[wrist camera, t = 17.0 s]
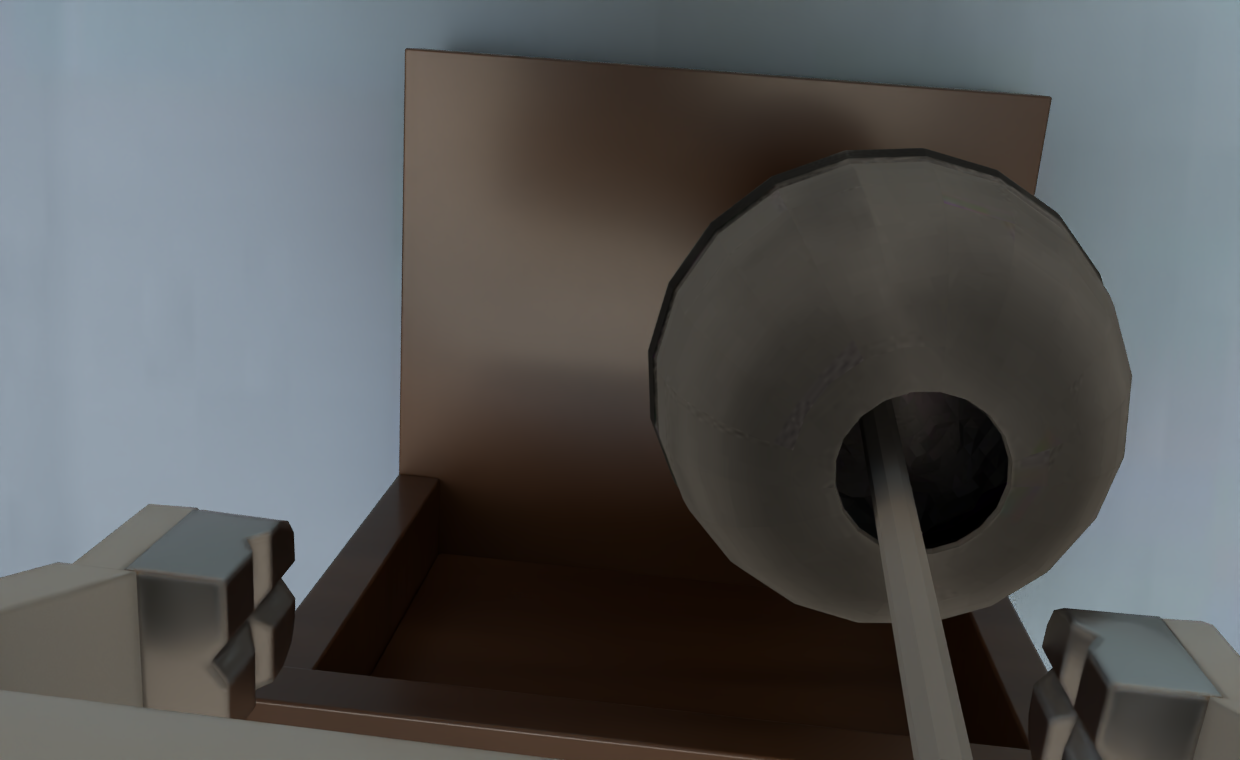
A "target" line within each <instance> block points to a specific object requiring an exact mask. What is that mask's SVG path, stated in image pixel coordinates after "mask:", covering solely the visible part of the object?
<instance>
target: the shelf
mask: <svg viewBox="0 0 1240 760" xmlns="http://www.w3.org/2000/svg"><path fill="white" fill-rule="evenodd" d="M1051 100H1052V98H1051V97H1050V96H1042V95H1034V94H1021V93H1008V92H995V91H981V90H968V89H955V88H941V87H928V86H915V85H901V84H888V83H875V82H861V81H848V80H835V79H821V78H808V77H795V76H781V75H768V74H755V73H742V72H728V71H715V70H702V69H688V68H675V67H662V66H648V65H635V64H622V63H608V62H595V61H582V60H568V59H555V58H542V57H528V56H515V55H502V54H488V53H475V52H462V51H448V50H435V49H422V48H406V49H405V91H404V164H403V236H402V309H401V382H400V455H399V476H398V477H397V478H396V479H395V481H394V482H393V483H392V485H391V486H390V487H389V489H388V490H387V491H386V493H385V494H384V495H383V497H382V498H381V499H380V500H379V502H378V503H377V504H376V506H375V507H374V508H373V510H372V511H371V512H370V514H369V515H368V516H367V518H366V519H365V520H364V521H363V523H362V524H361V525H360V527H359V528H358V529H357V531H356V532H355V533H354V535H353V536H352V537H351V538H350V540H349V541H348V542H347V544H346V545H345V546H344V548H343V549H342V550H341V552H340V553H339V554H338V556H337V557H336V558H335V559H334V561H333V562H332V563H331V565H330V566H329V567H328V569H327V570H326V571H325V573H324V574H323V575H322V577H321V578H320V579H319V580H318V582H317V583H316V584H315V586H314V587H313V588H312V590H311V591H310V592H309V594H308V595H307V596H306V598H305V599H304V600H303V601H302V603H301V604H300V605H299V607H298V608H297V609H296V611H295V623H294V630H293V637H292V643H291V646H290V649H289V652H288V654H287V657H286V660H285V663H284V666H283V668H282V669H281V671H280V672H279V674H278V675H277V677H276V678H275V680H274V681H273V682H272V683H270V684H267V685H265V686H263V687H261V688H258V689H256V690H255V692H256V707H255V708H254V709H253V711H252V712H251V714H250V715H249V716H248V718H247V719H246V720H248V721H256V722H264V723H272V724H280V725H288V726H296V727H304V728H312V729H320V730H328V731H336V732H344V733H352V734H360V735H368V736H376V737H384V738H392V739H400V740H408V741H416V742H424V743H432V744H440V745H448V746H456V747H464V748H472V749H480V750H488V751H496V752H504V753H512V754H520V755H528V756H536V757H544V758H552V759H560V760H914V758H913V751H912V745H911V739H910V733H909V727H908V721H907V714H906V708H905V702H904V696H903V690H902V683H901V677H900V671H899V665H898V659H897V652H896V646H895V640H894V634H893V628H892V623H858V622H854V621H851V620H847V619H844V618H841V617H837V616H834V615H831V614H827V613H824V612H820V611H817V610H814V609H810V608H807V607H804V606H800V605H797V604H794V603H793V602H791V601H790V600H788V599H787V598H785V597H784V596H782V595H781V594H779V593H777V592H776V591H774V590H773V589H771V588H770V587H768V586H767V585H765V584H764V583H762V582H761V581H759V580H758V579H756V578H755V577H753V576H752V575H750V574H749V573H747V572H746V571H744V570H743V569H741V568H740V567H738V566H737V565H735V564H734V563H732V562H731V561H730V560H729V559H728V557H727V556H726V555H725V554H724V553H723V551H722V550H721V549H720V548H719V546H718V545H717V544H716V543H715V541H714V540H713V539H712V538H711V536H710V535H709V534H708V533H707V532H706V530H705V529H704V528H703V527H702V525H701V524H700V523H699V522H698V520H697V519H696V518H695V517H694V515H693V514H692V513H691V512H690V510H689V509H688V507H687V505H686V504H685V502H684V500H683V498H682V495H681V493H680V490H679V488H678V487H677V485H676V484H675V482H674V481H673V478H672V475H671V473H670V470H669V467H668V465H667V462H666V459H665V457H664V454H663V451H662V449H661V446H660V443H659V441H658V438H657V435H656V433H655V430H654V427H653V425H652V422H651V419H650V397H649V366H648V349H649V345H650V342H651V339H652V335H653V332H654V329H655V326H656V322H657V319H658V316H659V312H660V309H661V306H662V302H663V299H664V296H665V292H666V289H667V286H668V283H669V281H670V280H671V278H672V277H673V276H674V274H675V273H676V271H677V270H678V268H679V267H680V266H681V264H682V263H683V261H684V260H685V258H686V257H687V256H688V254H689V253H690V251H691V250H692V248H693V247H694V246H695V244H696V243H697V241H698V240H699V238H700V237H701V236H702V234H703V233H704V231H705V230H706V228H707V227H708V226H709V224H710V223H711V222H712V221H713V220H715V219H716V218H717V217H719V216H720V215H721V214H723V213H724V212H725V211H727V210H728V209H729V208H731V207H732V206H733V205H734V204H736V203H737V202H738V201H740V200H741V199H742V198H744V197H745V196H746V195H748V194H749V193H750V192H752V191H753V190H754V189H756V188H757V187H758V186H760V185H761V184H762V183H764V182H765V181H766V180H767V179H769V178H770V177H771V176H774V175H777V174H780V173H783V172H785V171H788V170H791V169H794V168H797V167H800V166H802V165H805V164H808V163H811V162H814V161H816V160H819V159H822V158H825V157H828V156H831V155H833V154H836V153H839V152H842V151H845V150H872V149H904V148H925V149H929V150H932V151H936V152H939V153H942V154H946V155H949V156H952V157H956V158H959V159H963V160H966V161H969V162H973V163H976V164H979V165H983V166H986V167H989V168H993V169H996V170H998V171H1000V172H1001V173H1002V174H1004V175H1005V176H1007V177H1008V178H1009V179H1011V180H1012V181H1014V182H1015V183H1016V184H1018V185H1019V186H1021V187H1022V188H1023V189H1025V190H1026V191H1028V192H1029V193H1030V194H1032V195H1033V196H1034V195H1035V189H1036V184H1037V178H1038V172H1039V167H1040V161H1041V156H1042V150H1043V145H1044V139H1045V133H1046V128H1047V122H1048V117H1049V111H1050V105H1051ZM942 625H943V629H944V634H945V638H946V642H947V647H948V651H949V656H950V660H951V665H952V669H953V673H954V678H955V682H956V687H957V691H958V695H959V700H960V704H961V709H962V713H963V718H964V722H965V726H966V731H967V735H968V740H969V744H970V748H971V753H972V757H973V760H1032V756H1031V751H1030V746H1029V741H1028V713H1029V708H1030V702H1031V697H1032V691H1033V686H1034V684H1035V683H1036V682H1037V681H1039V680H1040V679H1041V678H1042V677H1043V676H1044V675H1045V674H1046V673H1048V671H1047V669H1046V667H1045V665H1044V664H1043V662H1042V660H1041V658H1040V656H1039V654H1038V652H1037V650H1036V648H1035V647H1034V645H1033V643H1032V641H1031V639H1030V637H1029V635H1028V633H1027V631H1026V630H1025V628H1024V626H1023V624H1022V622H1021V620H1020V618H1019V616H1018V614H1017V613H1016V611H1015V609H1014V607H1013V605H1012V603H1011V601H1010V599H1009V597H1008V596H1007V597H1005V598H1004V599H1002V600H1000V601H999V602H997V603H995V604H994V605H992V606H990V607H986V608H982V609H979V610H975V611H971V612H968V613H964V614H960V615H957V616H953V617H949V618H946V619H942Z"/></svg>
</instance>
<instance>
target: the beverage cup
mask: <svg viewBox="0 0 1240 760" xmlns="http://www.w3.org/2000/svg"><path fill="white" fill-rule="evenodd" d="M648 366H649V397H650V419H651V422H652V425H653V427H654V430H655V433H656V435H657V438H658V441H659V443H660V446H661V449H662V451H663V454H664V457H665V459H666V462H667V465H668V467H669V470H670V473H671V475H672V478H673V481H674V482H675V484H676V485H677V487H678V488H679V490H680V493H681V495H682V498H683V500H684V502H685V504H686V505H687V507H688V509H689V510H690V512H691V513H692V514H693V515H694V517H695V518H696V519H697V520H698V522H699V523H700V524H701V525H702V527H703V528H704V529H705V530H706V532H707V533H708V534H709V535H710V536H711V538H712V539H713V540H714V541H715V543H716V544H717V545H718V546H719V548H720V549H721V550H722V551H723V553H724V554H725V555H726V556H727V557H728V559H729V560H730V561H731V562H732V563H734V564H735V565H737V566H738V567H740V568H741V569H743V570H744V571H746V572H747V573H749V574H750V575H752V576H753V577H755V578H756V579H758V580H759V581H761V582H762V583H764V584H765V585H767V586H768V587H770V588H771V589H773V590H774V591H776V592H777V593H779V594H781V595H782V596H784V597H785V598H787V599H788V600H790V601H791V602H793V603H794V604H797V605H800V606H804V607H807V608H810V609H814V610H817V611H820V612H824V613H827V614H831V615H834V616H837V617H841V618H844V619H847V620H851V621H854V622H858V623H892V628H893V634H894V640H895V646H896V652H897V659H898V665H899V671H900V677H901V683H902V690H903V696H904V702H905V708H906V714H907V721H908V727H909V733H910V739H911V745H912V751H913V758H914V760H973V757H972V753H971V748H970V744H969V740H968V735H967V731H966V726H965V722H964V718H963V713H962V709H961V704H960V700H959V695H958V691H957V687H956V682H955V678H954V673H953V669H952V665H951V660H950V656H949V651H948V647H947V642H946V638H945V634H944V629H943V625H942V619H946V618H949V617H953V616H957V615H960V614H964V613H968V612H971V611H975V610H979V609H982V608H986V607H990V606H992V605H994V604H995V603H997V602H999V601H1000V600H1002V599H1004V598H1005V597H1007V596H1009V595H1010V594H1012V593H1014V592H1015V591H1017V590H1019V589H1020V588H1022V587H1023V586H1025V585H1027V584H1028V583H1030V582H1032V581H1033V580H1035V579H1037V578H1038V577H1040V576H1042V575H1043V574H1045V573H1047V572H1048V571H1049V570H1050V569H1051V568H1052V567H1053V565H1054V564H1055V563H1056V562H1057V561H1058V560H1059V559H1060V558H1061V557H1062V555H1063V554H1064V553H1065V552H1066V551H1067V550H1068V549H1069V548H1070V547H1071V546H1072V544H1073V543H1074V542H1075V541H1076V540H1077V539H1078V538H1079V537H1080V536H1081V534H1082V533H1083V532H1084V531H1085V530H1086V529H1087V528H1088V527H1089V526H1090V525H1091V523H1092V522H1093V521H1094V520H1095V519H1096V517H1097V515H1098V513H1099V511H1100V508H1101V506H1102V504H1103V502H1104V500H1105V497H1106V495H1107V493H1108V491H1109V489H1110V486H1111V484H1112V482H1113V480H1114V478H1115V475H1116V473H1117V471H1118V469H1119V467H1120V464H1121V462H1122V460H1123V458H1124V452H1125V442H1126V432H1127V421H1128V411H1129V401H1130V390H1131V380H1132V374H1131V370H1130V366H1129V362H1128V358H1127V354H1126V350H1125V346H1124V342H1123V338H1122V334H1121V331H1120V327H1119V323H1118V319H1117V315H1116V311H1115V307H1114V305H1113V302H1112V300H1111V297H1110V295H1109V293H1108V292H1107V290H1106V289H1105V287H1104V286H1103V282H1102V279H1101V276H1100V273H1099V272H1098V270H1097V269H1096V267H1095V266H1094V265H1093V263H1092V262H1091V260H1090V259H1089V257H1088V256H1087V254H1086V253H1085V251H1084V250H1083V249H1082V247H1081V246H1080V244H1079V243H1078V241H1077V240H1076V238H1075V237H1074V235H1073V234H1072V233H1071V231H1070V230H1069V228H1068V227H1067V225H1066V224H1065V222H1064V221H1063V219H1062V218H1061V217H1060V215H1059V214H1058V213H1057V212H1056V211H1054V210H1053V209H1051V208H1050V207H1049V206H1047V205H1046V204H1044V203H1043V202H1042V201H1040V200H1039V199H1037V198H1036V197H1035V196H1033V195H1032V194H1030V193H1029V192H1028V191H1026V190H1025V189H1023V188H1022V187H1021V186H1019V185H1018V184H1016V183H1015V182H1014V181H1012V180H1011V179H1009V178H1008V177H1007V176H1005V175H1004V174H1002V173H1001V172H1000V171H998V170H996V169H993V168H989V167H986V166H983V165H979V164H976V163H973V162H969V161H966V160H963V159H959V158H956V157H952V156H949V155H946V154H942V153H939V152H936V151H932V150H929V149H925V148H904V149H872V150H845V151H842V152H839V153H836V154H833V155H831V156H828V157H825V158H822V159H819V160H816V161H814V162H811V163H808V164H805V165H802V166H800V167H797V168H794V169H791V170H788V171H785V172H783V173H780V174H777V175H774V176H771V177H770V178H769V179H767V180H766V181H765V182H764V183H762V184H761V185H760V186H758V187H757V188H756V189H754V190H753V191H752V192H750V193H749V194H748V195H746V196H745V197H744V198H742V199H741V200H740V201H738V202H737V203H736V204H734V205H733V206H732V207H731V208H729V209H728V210H727V211H725V212H724V213H723V214H721V215H720V216H719V217H717V218H716V219H715V220H713V221H712V222H711V223H710V224H709V226H708V227H707V228H706V230H705V231H704V233H703V234H702V236H701V237H700V238H699V240H698V241H697V243H696V244H695V246H694V247H693V248H692V250H691V251H690V253H689V254H688V256H687V257H686V258H685V260H684V261H683V263H682V264H681V266H680V267H679V268H678V270H677V271H676V273H675V274H674V276H673V277H672V278H671V280H670V281H669V283H668V286H667V289H666V292H665V296H664V299H663V302H662V306H661V309H660V312H659V316H658V319H657V322H656V326H655V329H654V332H653V335H652V339H651V342H650V345H649V349H648Z"/></svg>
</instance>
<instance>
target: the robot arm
mask: <svg viewBox="0 0 1240 760" xmlns="http://www.w3.org/2000/svg"><path fill="white" fill-rule="evenodd" d="M294 561H295V552H294V532H293V530H292V528H291V526H290V524H289V522H288V521H284V520H276V519H269V518H261V517H253V516H246V515H238V514H230V513H223V512H215V511H208V510H199V509H198V508H194V507H182V506H169V505H156V504H148V505H147V506H146V507H144V508H143V509H142V510H141V511H139V512H138V513H137V514H135V515H134V516H133V517H132V518H130V519H129V520H128V521H126V522H125V523H124V524H123V525H121V526H120V527H119V528H118V529H116V530H115V531H114V532H112V533H111V534H110V535H109V536H107V537H106V538H105V539H103V540H102V541H101V542H100V543H98V544H97V545H96V546H95V547H93V548H92V549H91V550H89V551H88V552H87V553H86V554H84V555H83V556H82V557H80V558H79V559H78V560H77V561H75V562H74V563H73V564H69V563H60V562H57V563H53V564H50V565H46V566H42V567H38V568H35V569H31V570H27V571H23V572H20V573H16V574H12V575H8V576H5V577H1V578H0V760H560V759H552V758H544V757H536V756H528V755H520V754H512V753H504V752H496V751H488V750H480V749H472V748H464V747H456V746H448V745H440V744H432V743H424V742H416V741H408V740H400V739H392V738H384V737H376V736H368V735H360V734H352V733H344V732H336V731H328V730H320V729H312V728H304V727H296V726H288V725H280V724H272V723H264V722H256V721H248V720H246V719H247V718H248V716H249V715H250V714H251V712H252V711H253V709H254V708H255V707H256V692H255V690H256V689H258V688H261V687H263V686H265V685H267V684H270V683H272V682H273V681H274V680H275V678H276V677H277V675H278V674H279V672H280V671H281V669H282V668H283V666H284V663H285V660H286V657H287V654H288V652H289V649H290V646H291V643H292V637H293V630H294V623H295V597H294V596H293V594H292V593H291V592H290V590H289V589H288V587H287V586H286V584H285V583H284V581H283V580H282V579H281V577H282V576H283V575H284V574H285V572H286V571H287V570H288V569H289V567H290V566H291V565H292V564H293V563H294ZM1042 648H1043V650H1044V652H1045V654H1046V656H1047V657H1048V659H1049V661H1050V663H1051V665H1052V667H1053V668H1052V669H1051V670H1050V671H1049V672H1048V673H1046V674H1045V675H1044V676H1043V677H1042V678H1041V679H1040V680H1039V681H1037V682H1036V683H1035V684H1034V686H1033V691H1032V697H1031V702H1030V708H1029V713H1028V741H1029V746H1030V751H1031V756H1032V760H1240V656H1239V655H1238V653H1237V652H1236V651H1235V650H1234V649H1233V648H1232V646H1231V645H1230V644H1229V643H1228V642H1227V641H1226V640H1225V638H1224V637H1223V636H1222V635H1221V634H1220V633H1219V631H1218V630H1217V629H1216V628H1215V627H1214V626H1213V625H1211V624H1209V623H1206V622H1203V621H1192V620H1177V619H1161V618H1160V617H1157V616H1146V615H1135V614H1124V613H1113V612H1102V611H1091V610H1079V609H1068V608H1063V609H1058V610H1054V611H1053V614H1052V616H1051V618H1050V620H1049V622H1048V624H1047V628H1046V632H1045V636H1044V641H1043V645H1042Z"/></svg>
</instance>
